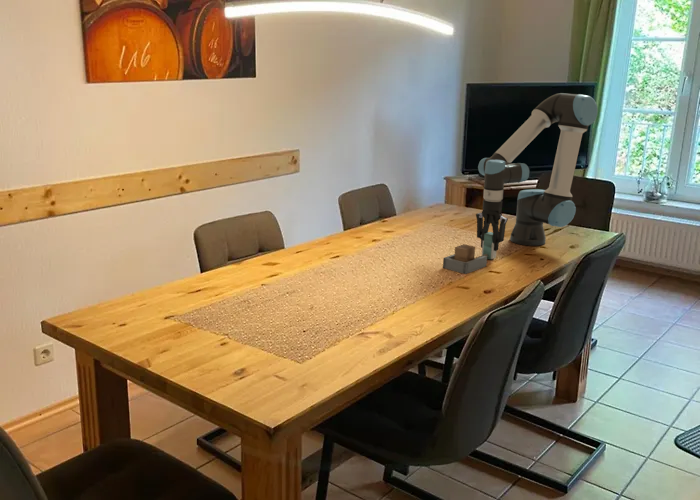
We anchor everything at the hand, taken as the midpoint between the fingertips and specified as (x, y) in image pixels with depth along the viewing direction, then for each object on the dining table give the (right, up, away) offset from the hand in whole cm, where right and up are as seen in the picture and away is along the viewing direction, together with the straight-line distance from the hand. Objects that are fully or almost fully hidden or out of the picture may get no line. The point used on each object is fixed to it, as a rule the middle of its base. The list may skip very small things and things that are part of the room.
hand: (488, 256), depth 277 cm
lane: (-12, -4, -12) cm, 17 cm away
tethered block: (-6, -2, -6) cm, 9 cm away
